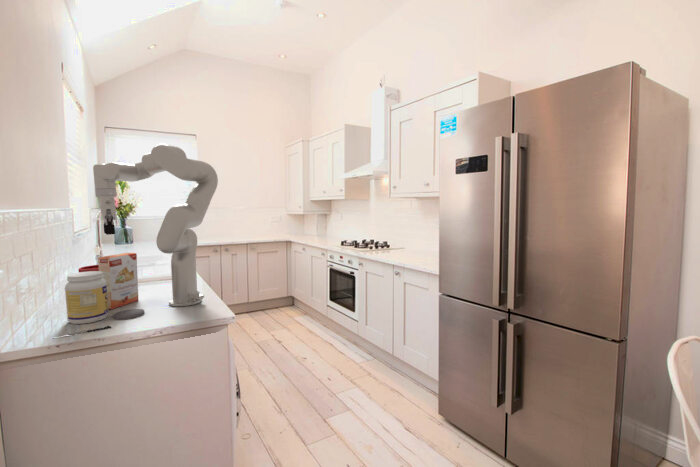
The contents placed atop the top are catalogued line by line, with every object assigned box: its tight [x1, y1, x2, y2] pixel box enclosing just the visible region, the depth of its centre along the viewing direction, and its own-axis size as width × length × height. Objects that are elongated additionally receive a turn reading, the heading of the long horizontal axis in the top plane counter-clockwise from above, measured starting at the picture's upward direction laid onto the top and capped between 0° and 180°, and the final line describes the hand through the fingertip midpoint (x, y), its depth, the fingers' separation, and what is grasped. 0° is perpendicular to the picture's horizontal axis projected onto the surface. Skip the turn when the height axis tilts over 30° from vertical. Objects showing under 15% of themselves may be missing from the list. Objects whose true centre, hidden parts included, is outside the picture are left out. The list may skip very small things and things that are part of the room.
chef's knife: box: [67, 325, 112, 336], centre depth 118 cm, size 19×1×3 cm
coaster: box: [112, 308, 145, 321], centre depth 137 cm, size 10×10×1 cm
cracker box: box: [97, 252, 139, 310], centre depth 150 cm, size 14×6×21 cm, turn 168°
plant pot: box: [78, 264, 99, 273], centre depth 175 cm, size 13×13×12 cm
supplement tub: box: [64, 271, 109, 325], centre depth 131 cm, size 12×12×17 cm
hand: (109, 233), depth 156 cm, fingers open, 9 cm apart
